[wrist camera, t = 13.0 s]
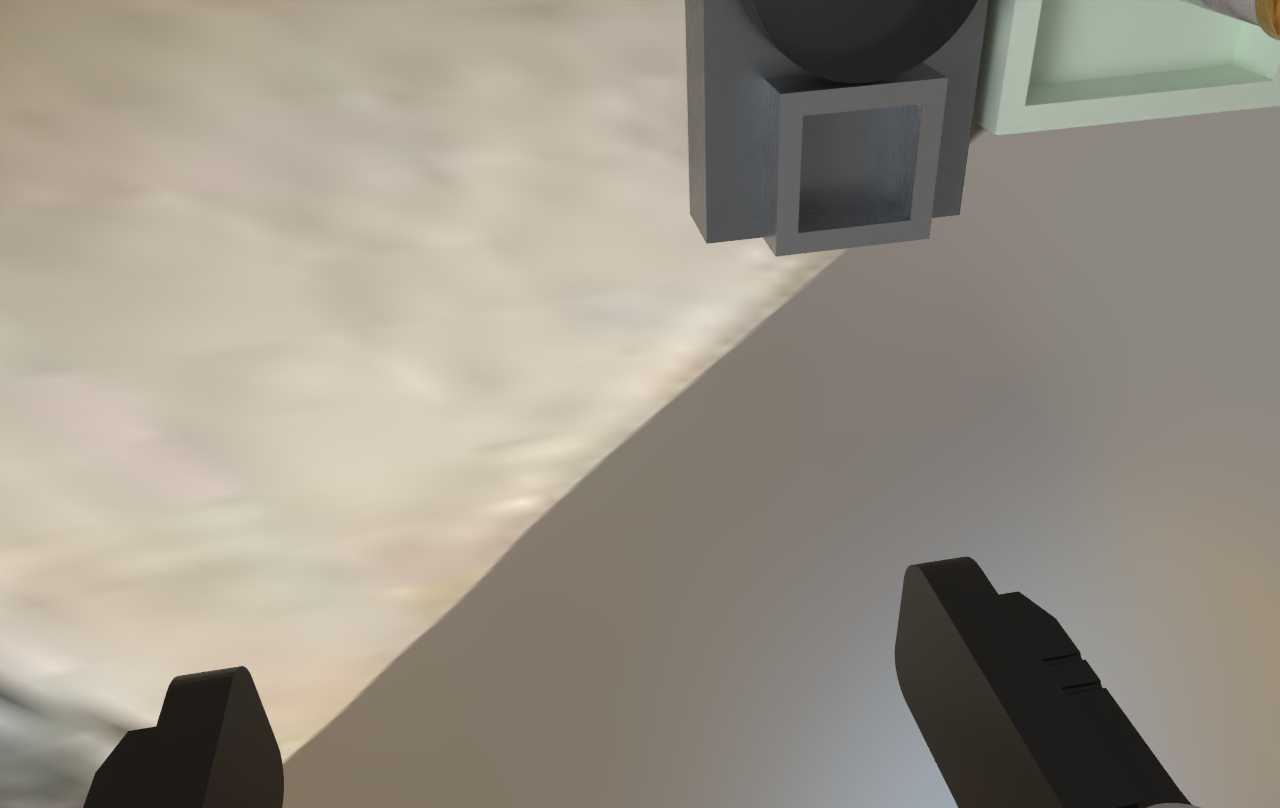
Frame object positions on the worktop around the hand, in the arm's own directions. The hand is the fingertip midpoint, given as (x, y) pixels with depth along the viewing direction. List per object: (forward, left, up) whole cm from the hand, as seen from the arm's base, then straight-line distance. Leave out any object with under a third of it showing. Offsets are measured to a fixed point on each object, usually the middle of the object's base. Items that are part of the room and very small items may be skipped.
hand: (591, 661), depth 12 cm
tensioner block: (-1, +12, -28) cm, 31 cm away
